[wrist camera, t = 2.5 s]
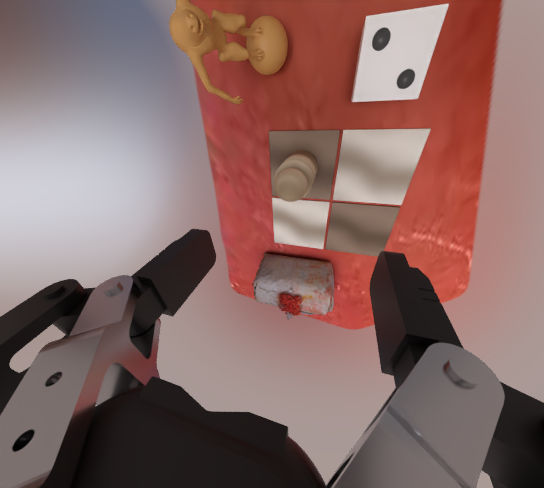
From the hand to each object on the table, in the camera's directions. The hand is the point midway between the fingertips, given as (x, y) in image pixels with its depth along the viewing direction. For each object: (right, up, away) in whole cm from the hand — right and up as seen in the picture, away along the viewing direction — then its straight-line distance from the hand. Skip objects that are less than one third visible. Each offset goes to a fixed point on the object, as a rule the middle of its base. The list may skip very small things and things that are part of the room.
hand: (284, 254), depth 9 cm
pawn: (+3, +11, +17) cm, 20 cm away
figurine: (-1, +21, +11) cm, 24 cm away
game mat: (+8, +7, +18) cm, 21 cm away
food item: (+5, -4, +29) cm, 29 cm away
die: (+10, +18, +9) cm, 22 cm away
